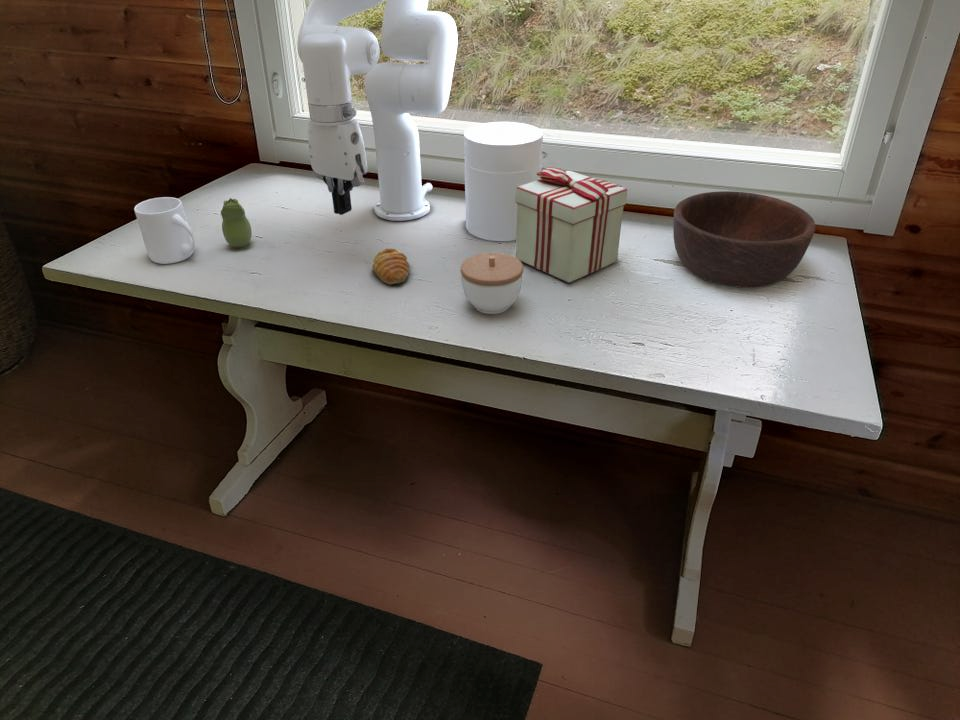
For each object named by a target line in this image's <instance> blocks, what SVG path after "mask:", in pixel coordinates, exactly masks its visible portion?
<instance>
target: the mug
mask: <svg viewBox="0 0 960 720" xmlns="http://www.w3.org/2000/svg"><path fill="white" fill-rule="evenodd" d="M133 210H134V215H135V218H136V220H137V223H138V227H139V230H140V233H141V236H142V238H143V243H144V247H145V250H146V252H147V255H148V257H149V259H150V260H151V261H152V262H153V263H156V264H158V265H159V264H161V265H170V264H175V263H180V262H183V261H185V260H187V259H189V258H190V257H191V256H192V255H193V253H194V251H195V249H196V240H195V236H194V232H193V231H192V228H191V227H190V225H189V223H188V222H187V217H186V214H185V210H184V207H183V202H182V201H181V200H180V199H179V198H177V197H171V196H162V197H154V198H149V199H146V200H143V201H141V202H139V203H137V204H135V206H134V208H133Z"/></svg>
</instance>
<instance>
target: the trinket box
mask: <svg viewBox="0 0 960 720" xmlns="http://www.w3.org/2000/svg"><path fill="white" fill-rule="evenodd" d="M460 274H461V286H462V289H463V290H462V291H463V293H464V296H465V298H466V299H467V301H468V302H469V303H470V304H471V305H472V306H473V307H474V308H475V309H476V310H477V311H478V312H480V313H483V314H486V315H498V314H502V313H504V312H506V311H507V310H508V309H509V308H510V307H511V306H512V305H514V304H515V302H516V301H517V299H518V298H519V296H520V294H521V290H522V284H523V276H524V275H523V274H524V264H523V262H522V261H520V260H519V259H517V258H516V256H513V255H511V254H507V253H502V252H482V253H478V254H473V255H471V256H469V257H467V258H466V259H465V260H463V262H462V263H461V264H460Z"/></svg>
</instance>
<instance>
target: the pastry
mask: <svg viewBox="0 0 960 720" xmlns="http://www.w3.org/2000/svg"><path fill="white" fill-rule="evenodd" d="M407 259H408V258H407V256H406V255H405V254H404V253H403V252H400V251H399V250H398V249H396V248H392V247H391V248H385V249H383V250H381V251H378V252H377V254H376V255H375V256H374V258H373V261H372V270H373V272H374V274H375V275H376V276H377V277H378V278H379V280H381V281H382V282H383V283H384V284H388V285H394V284H400V283H404V282H405V281H406V280H407V278H408V275H409V272H410V264H409V262H408V260H407Z"/></svg>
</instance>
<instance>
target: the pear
mask: <svg viewBox="0 0 960 720" xmlns="http://www.w3.org/2000/svg"><path fill="white" fill-rule="evenodd" d="M220 215H221V218H222V223H221V230H222V235H223V237H224V240H225V241H226V243H227V244H228V245H229V246H231V247H232V248H238V249H239V248H244V247H246V246H247V245H249V244H250V242H251V240H252V237H253V235H252V233H253V232H252V231H253V230H252V226H251V223H250V221H249V219H248V218H247V216H246V212H245V209H244V207H243V205H241V204H240V203H239V201H238V199H236V198H231V197H229V199H227V200H223V205H222V209H221V210H220Z"/></svg>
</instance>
